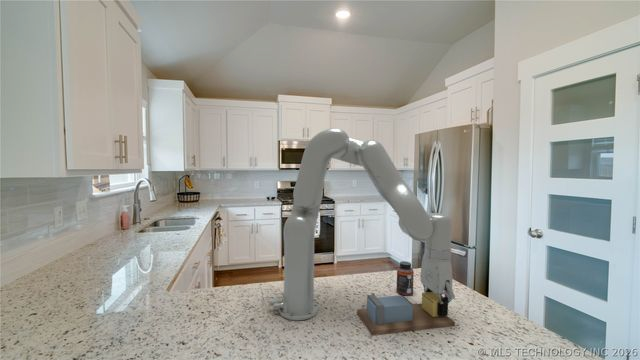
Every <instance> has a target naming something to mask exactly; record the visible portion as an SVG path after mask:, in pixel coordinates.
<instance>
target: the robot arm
mask: <svg viewBox="0 0 640 360" xmlns="http://www.w3.org/2000/svg"><path fill="white" fill-rule="evenodd" d="M332 159H334V160H339V161H341V162H345V163H348V164H352V165H355V166H359V167H362V168H363V169H364V171H365V173H367V176H368V177H369V178H370V180H371V182H372V184H373V186H374V187H375V189H376V190H377V192H378V193H379V195H380V196H381V197H382V199H383V200H385V202H387V204H389V205H390V206H391V208H392V209H393V211H394V212H395V214H396V215H397V216H398V226H399V228H400V230H401V231H402V232H404V233H405V234H406V236H408V237H410V238H411V239H413V240H414V241H419V242H424V253H423V255H422V260H421V265H420V267H421V268H420V278H419V279H420V283H421V285H422V286H423V293H425V292H434V293H436V294H438V298H439V302H438V310H437V315H438V316H449V315H448V314H449V304H450V303H451V302H452V301H453V300H454V299H455V298H456V296H455V293H454V291H453V267H452V261H451V255H452V254H451V253H452V252H451V251H452V225H453V224H452V222H453V221H452V220H453V219H452V216H450V215H449V214H446V213H440V212H430V213H427V211H426V210H425V208H424V206H423V204H422V203H421V201H420V200H419V199H418V197H417V196H416V194H415V193H414V192H413V190H412V189H411V187H409V185H408V183H407V182H406V181H405V180H404V178H403V177H402V175H401V174H400V172H399V170H398V168H397V167H396V166H395V164H394V162H393V161H392V159H391V157H390V156H389V153H388V152H387V150H386V148H385V147H384V146H383V144H382V143H381V142H380V141H378V140H375V139H369V140H366V141H363V140H358V139H355V138H351V137H350V136H349V135H348V133H347V132H346V131H345V130H344V129H341V128H337V127H332V128H327V129H325V130H322V131H320V132H318V133H317V134H315V135H314V136H313V137H312V138H311V139H310V140H309V142H308V143H307V145H306V147H305V149H304V152H303V155H302V157H301V162H300V167H299V169H298V173H297V177H296V182H295V185H294V187H293V188H294V189H293V192H292V193H293V194H292V196H293V203H292V207H291V209H292V210H291V212H290V215H289V216H288V217H287V219H286V220H285V223H284V225H283V232H282V233H283V249H284V250H283V255H284V256H283V257H284V259H283V261H284V263H283V264H284V269H283V277H284V278H283V293H282V294H281V296H279V297H277V298H268V304H269V305H268V306H272V307H273V309H278V313H279V315H280V317H283V318H284V319H287V320H289V321H290V320H291V321H304V320H309V319H312V318H313V317H314V316H316V315H317V314H318V312H319V305H318V303H317V302H316V301H314V299H315V298H314V295H315V293H314V292H315V291H314V288H315V287H314V285H315V282H314V281H315V230H316V227H317V222H318V218H319V214H320V208H321V204H322V202H323V201H322V200H323V196H324V195H323V194H324V188H323V187H324V182H325V178H326V176H327V170H328V167H329V164H330V162H331V160H332ZM443 295H444V296H443ZM442 296H443V297H444V298H442Z"/></svg>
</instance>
